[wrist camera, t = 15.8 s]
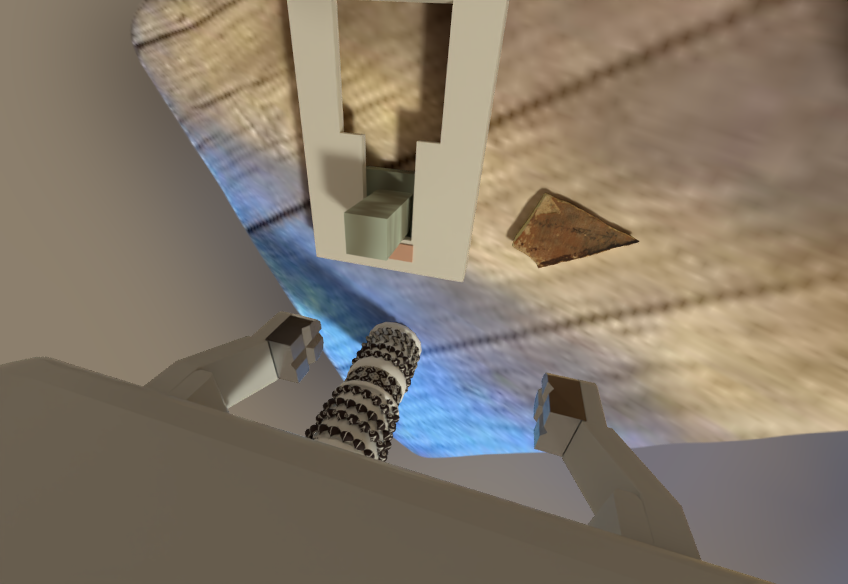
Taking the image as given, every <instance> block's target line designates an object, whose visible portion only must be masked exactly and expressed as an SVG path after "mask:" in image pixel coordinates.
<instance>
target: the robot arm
mask: <svg viewBox="0 0 848 584" xmlns="http://www.w3.org/2000/svg"><path fill="white" fill-rule="evenodd" d="M320 330H321V324H320V321H318V320H316V319H312V318H309V317H305V316H301V315H297V314H292V313H288V312H284V311H281V312H279V313H277V314H276V315H275V316H274V317H273V318H272V319H270V320H269V321H268V322H267V323H266V324H265V325H264V326H263V327H261V328H260V329H259V330H258V331H257V332H256V333H255V334H253V335H252V336H251V337H250V336H246V337H243V338H240V339H237V340H234V341H232V342H229V343H226V344H223V345H220V346H218V347H215V348H212V349H209V350H206V351H203V352H200V353H198V354H195V355H192V356H189V357H187V358H183V359H181V360H178V361H176V362H175V363H173V364H172V365H170V366H169V367H168V368H167V369H165V370H164V371H163V372H161V373H160V374H159V375H158V376H156V377H155V378H154V379H152V380H151V381H150V382H148V383H147V384H146V385H145V386H140V385H136V384H133V383H130V382H127V381H123V380H120V379H117V378H114V377H111V376H107V375H104V374H101V373H98V372H94V371H91V370H88V369H85V368H82V367H79V366H75V365H72V364H69V363H66V362H63V361H60V360H57V359H53V358H49V357H34V358H30V359H25V360H20V361H15V362H10V363H6V364H2V365H0V584H775V583H772V582H769V581H766V580H762V579H759V578H756V577H753V576H749V575H746V574H743V573H740V572H737V571H733V570H730V569H727V568H724V567H721V566H717V565H714V564H711V563H707V562H704V561H702V560H701V558H700V555H699V552H698V550H697V547H696V544H695V542H694V539H693V536H692V533H691V531H690V528H689V525H688V522H687V520H686V517H685V514H684V512H683V509H682V506H681V505H680V504H679V503H678V502H677V500H676V499H675V498H674V497H673V496H672V495H671V494H670V493H669V491H668V490H667V489H666V488H665V487H664V486H663V485H662V484H661V483H660V482H659V480H658V479H657V478H656V477H655V476H654V475H653V474H652V472H651V471H650V470H649V469H648V468H647V467H646V466H645V465H644V463H643V462H642V461H641V460H640V459H639V458H638V457H637V456H636V455H635V454H634V452H633V451H632V450H631V449H630V448H629V447H628V446H627V444H626V443H625V442H624V441H623V440H622V439H621V438H620V437H619V436H618V434H617V433H616V432H615V431H614V430H613V429H612V428H608V427H607V425H606V421H605V417H604V412H603V408H602V404H601V400H600V396H599V392H598V388H597V385H596V384H595V383H591V382H587V381H582V380H577V379H573V378H568V377H564V376H559V375H555V374H550V373H545V374H544V376H543V378H542V388H541V389H539V390H538V392H537V395H536V398H535V403H534V419H535V421H536V422H537V423H536V426H535V428H534V449H538V450H541V451H544V452H547V453H551V454H554V455H557V456H561V457H562V459H563V461H564V463H565V464H566V466H567V468H568V470H569V471H570V473H571V475H572V476H573V478H574V480H575V482H576V483H577V485H578V487H579V489H580V490H581V492H582V494H583V496H584V497H585V499H586V501H587V503H588V504H589V506H590V508H591V509H592V511H593V513H594V515H595V516H594V517H593V518H592V520H591V521H590V522H589V524H588V525H586V524H583V523H579V522H576V521H573V520H570V519H566V518H563V517H560V516H557V515H554V514H550V513H547V512H544V511H541V510H538V509H534V508H531V507H528V506H524V505H522V504H518V503H515V502H512V501H509V500H506V499H502V498H499V497H496V496H493V495H490V494H486V493H483V492H480V491H477V490H473V489H470V488H467V487H464V486H460V485H457V484H454V483H451V482H447V481H444V480H441V479H438V478H435V477H431V476H428V475H425V474H422V473H419V472H415V471H412V470H409V469H406V468H403V467H399V466H396V465H393V464H390V463H386V462H383V461H380V460H377V459H374V458H370V457H367V456H364V455H361V454H358V453H354V452H351V451H348V450H345V449H342V448H338V447H335V446H332V445H329V444H326V443H322V442H319V441H316V440H313V439H310V438H306V437H303V436H300V435H296V434H293V433H290V432H287V431H284V430H280V429H277V428H274V427H271V426H268V425H265V424H261V423H258V422H255V421H252V420H248V419H245V418H242V417H239V416H236V415H233V414H230V413H229V411H228V408H229V407H231V406H233V405H234V404H236V403H238V402H240V401H241V400H243V399H245V398H247V397H248V396H250V395H252V394H253V393H255V392H257V391H259V390H260V389H262V388H264V387H266V386H267V385H269V384H271V383H272V382H274V381H276V380H277V379H278V378H279V379H283V380H288V381H292V382H296V383H299V382H300V381H301V380H302V379H303V377H304V376H305V375H306V373H307V372H308V371H309V364H312V363H314V362H316V361H317V359H318V358H319V357H320V355H321V352H322V350H323V343H324V342H323V337H322V336H321V335H320V333H319V331H320Z"/></svg>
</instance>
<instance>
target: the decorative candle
mask: <svg viewBox="0 0 848 584" xmlns="http://www.w3.org/2000/svg"><path fill="white" fill-rule="evenodd" d="M366 340H367V343H362V348H361V350H360V351H358V352H357V358H354V359H353V360H352V364H353V365H351V367H350V370H349V372H348V375H347V378H346V379H345V381H344V382H343V383H342V384H340V385H339V386H338V387H337V388H336V389H335V391H333V392H332V397H333V398H332V399H329V400H328V402H327V403H324V405H323V408H324V410H323V411H321V412H320V414H319V415H317V416H316V425H312V426H311V427H310V429H307V430H306V431H305V435H306V438H310V439H313V440H316V441H319V442H322V443H326V444H329V445H332V446H335V447H338V448H342V449H345V450H348V451H351V452H354V453H358V454H361V455H364V456H367V457H370V458H374V459H377V460H380V461H383V462H385V461H386V460H387V455H388V450H389V449H390V448H391V442H390V440H391V439H392V438H393V432H394V431H395V430H396V422H398V421H399V410H398V405H399V403H400V402H401V400H402V398H403V395H404V393H406V392H407V391H408V387H409V386H410V384H411V379H410V378H412V377H413V376H414V372H415V369H416V368H417V362H418V361H419V359H420V353H421V351H422V350H421V342H420V340H419V339H418V337H417V335H416V334H415V333H414V332H413V331H412V330H410V329H409V328H408V327H407V326H404V325H401V324H399V323H396V322H384V323H381V324H377V325H376V326H375V327H374V328H373V329H372V330H371V331H370V334H369V336H366ZM315 432H316V433H315ZM314 433H315V435H314V437H313V434H314ZM379 454H380V455H379Z"/></svg>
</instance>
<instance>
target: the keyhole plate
mask: <svg viewBox="0 0 848 584" xmlns="http://www.w3.org/2000/svg"><path fill="white" fill-rule="evenodd" d="M373 1H398V2H424V3H450V4H453V8H452V20H451V31H450V42H449V53H448V64H447V75H446V87H445V98H444V109H443V120H442V131H441V142H431V141H421V140H419V141H417V147H416V165H415V184H414V202H413V221H412V237H406V236H405V237H404V239H403V240H402V241H401V243H400V244H399V245H398V246H397V248H396V249H395V250H394V252H393V253H392V254H391V256H390V257H389V258H388V260H387V261H385V260H379V259H373V258H368V257H362V256H356V255H350V254H346V240H345V224H344V212H346V211H347V210H348V209H350V208H351V207H353V206H354V205H356V204H357V203H359V202H360V201H362V200H363V199H365V198H366V197H367V186H366V143H365V134H356V133H347V132H344V123H343V104H342V86H341V68H340V49H339V31H338V13H337V0H287V4H288V13H289V22H290V30H291V39H292V47H293V56H294V64H295V73H296V82H297V90H298V99H299V107H300V116H301V125H302V133H303V142H304V150H305V159H306V168H307V176H308V185H309V193H310V202H311V210H312V219H313V228H314V236H315V245H316V253H317V257H321V258H327V259H333V260H338V261H344V262H350V263H356V264H361V265H367V266H373V267H379V268H384V269H390V270H396V271H401V272H407V273H413V274H419V275H424V276H430V277H436V278H442V279H447V280H453V281H459V282H463V280H464V276H465V272H466V268H467V263H468V256H469V250H470V244H471V238H472V231H473V225H474V219H475V212H476V206H477V200H478V194H479V187H480V181H481V175H482V168H483V162H484V156H485V149H486V143H487V137H488V131H489V124H490V118H491V112H492V105H493V99H494V93H495V87H496V80H497V74H498V68H499V61H500V55H501V49H502V43H503V36H504V30H505V24H506V17H507V11H508V5H509V0H373Z"/></svg>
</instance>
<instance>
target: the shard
mask: <svg viewBox="0 0 848 584" xmlns="http://www.w3.org/2000/svg"><path fill="white" fill-rule="evenodd" d="M638 242H639V241H638V240H637V239H635V238H634V237H632V236H630V235H627V234H625V233H623V232H621V231H618V230H616V229H615V228H612V227H610V226H608V225H607V224H605V223H604V222H603V221H601V220H600V219H598V218H596V217H594V216H592V215H590V214H589V213H587V212H586V211H584V210H582V209H579V208H577V207H576V206H574V205H572V204H571V203H569V202H566V201H564V200H559V199H557V198H555V197H553V196H552V195H549V194H548V193H545V194H544V195H543V197H542V198H541V200H540V202H539V203H538V205H537V206H536V208H535V210H534V212H533V213H532V215H531V216H530V218H529V219H528V220H527V222H526V223H525V224H524V225H523V227H522V228H521V230H520V231H519V232H518V234H516V237H515V238H514V241H513V243H512V246H513V247H514V248H516V249H517V250H519V251H521V252H523V253H525V254H526V255H528V256H529V257H531V259H533V260H534V261H535V262H536V263H537V266H538V268H541V267H546V266H548V265H554V264H558V263H560V262H566V261H570V260H574V259H578V258H583V257H587V256H591V255H594V254H598V253H601V252H604V251H607V250H610V249H612V248H616V247H621V246H626V245H631V244H634V243H638Z"/></svg>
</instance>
